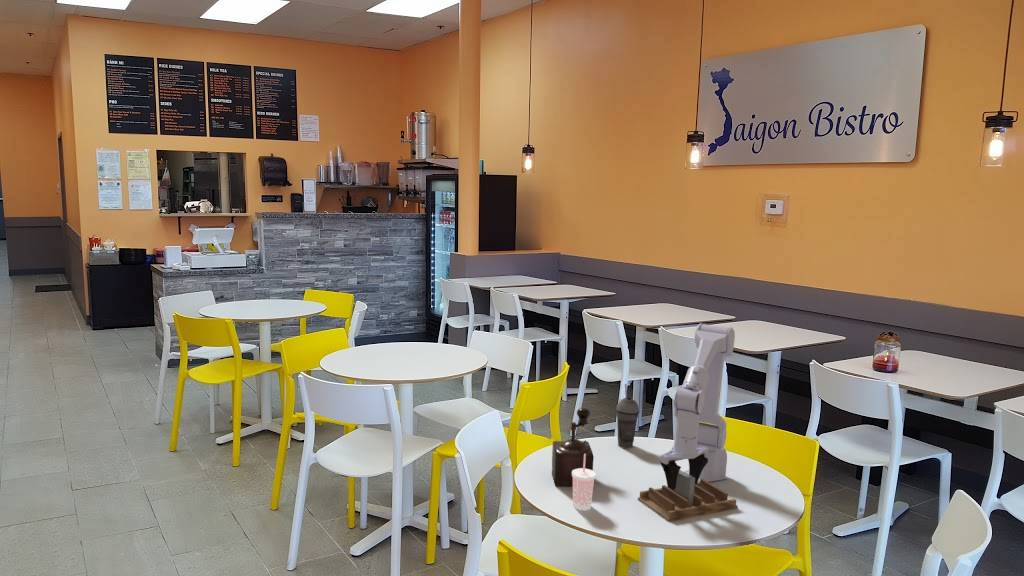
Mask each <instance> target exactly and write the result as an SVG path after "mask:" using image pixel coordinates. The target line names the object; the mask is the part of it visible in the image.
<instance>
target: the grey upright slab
mask: <svg viewBox="0 0 1024 576" xmlns="http://www.w3.org/2000/svg"><path fill="white" fill-rule="evenodd" d="M694 486H695V478H694V477H692V476H690V475H689V474H687V473H685V472H684V471H682V470H681V469H680V470H679V473H678V476H677V482H676V488H675V490H673V491H674V492H676V493H677V494H679V495H681V496H682V497H684V498H685V499H687V500H688V501H689V505H688V507H693V498H694ZM671 490H672V489H671Z"/></svg>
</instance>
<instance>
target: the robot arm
mask: <svg viewBox="0 0 1024 576" xmlns="http://www.w3.org/2000/svg"><path fill="white" fill-rule="evenodd" d="M735 337H736V336H735V330H734V327H732V326H731V327H728V326H727V327H726V326H721V325H718V326H717V325H711V324H705V323H704V324H703V323H702V322H700V323H699V324H698V325H696V327H695V332H694V343H695V346H696V348H697V352H696V357H695V361H694V365H692V366H690V367H688V369H687V371H686V375H685V378H684V379H683V383H682V385H681V387H680V389H676V392H675V395H674V400H673V401H674V402H673V407H674V417H675V430H674V442H673V446H672V447H671V449H670V450H669V451H667V452H665V453H663V454H660V460H659V462H660V463H659V464H660V465H661V467H662V470H663V472H664V476H665V479H666V486H667V487H668V488H670V489H672V490H675V488H676V482H677V476H678V473H679V470H681V468H682V466H680V465H678V464H677V461H682V460H683V461H684V460H687V461H688V466H689V467H688V470H684V471H683V472H685V473H687V474H689V475H690V476H692V477H694V478H695V485H696V484H697V482H700V479H704V480H706V481H707V482H709V483H710V482H715V481H717V482H718V481H722V480H727V479H728V476H726V475H727V464H728V453H727V450H726V448H725V445H726V440H727V433H728V432H727V421H726V420H725V419H724V418H723V417H722V416H721V415H720V414H719V405H720V397H721V389H722V380H723V372H724V364H725V362H726V358H727V357H731V356H732V355H733V353H734V346H735V345H734V344H735V340H736V339H735Z"/></svg>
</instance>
